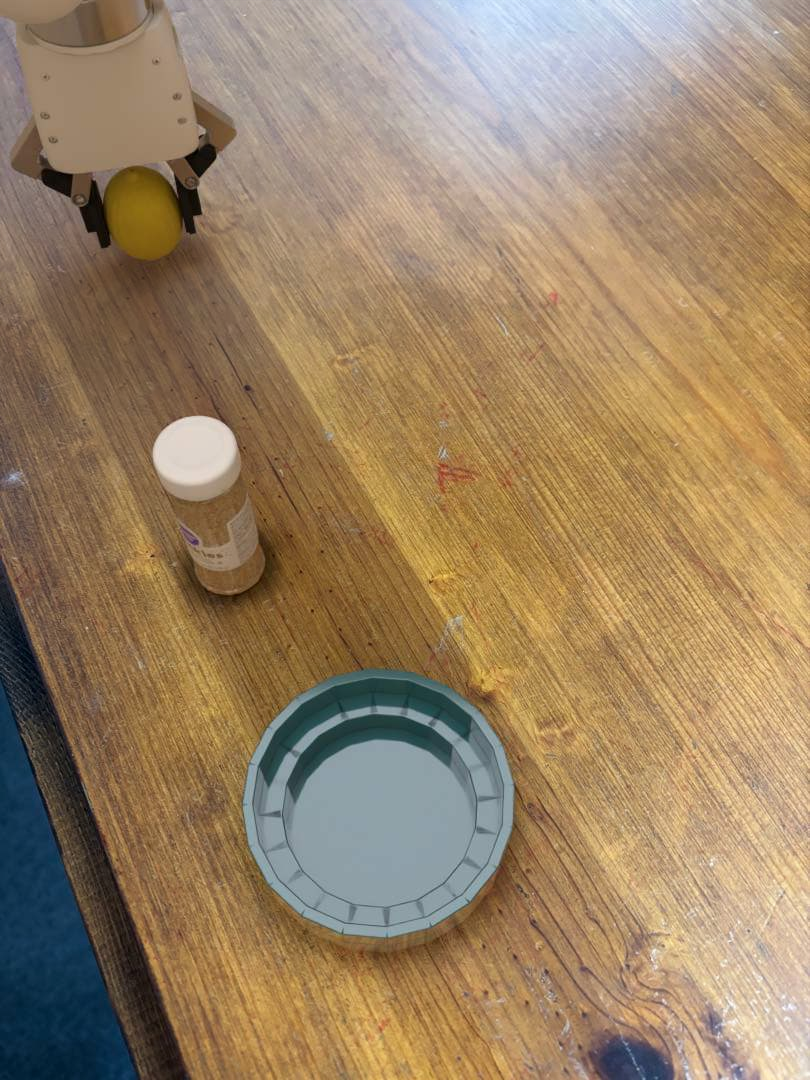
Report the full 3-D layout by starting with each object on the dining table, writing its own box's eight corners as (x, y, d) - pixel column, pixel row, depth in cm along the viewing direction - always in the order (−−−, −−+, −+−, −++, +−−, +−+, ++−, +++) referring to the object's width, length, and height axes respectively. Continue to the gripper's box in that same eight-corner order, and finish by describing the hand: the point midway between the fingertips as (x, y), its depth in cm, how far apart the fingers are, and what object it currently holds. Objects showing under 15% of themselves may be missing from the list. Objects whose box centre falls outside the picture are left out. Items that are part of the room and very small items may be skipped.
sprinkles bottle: (182, 580, 68) (133, 462, 56) (220, 525, 70) (180, 400, 58) (243, 609, 67) (207, 495, 55) (280, 552, 69) (252, 431, 57)
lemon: (159, 293, 79) (136, 208, 72) (102, 263, 80) (74, 178, 73) (206, 248, 81) (188, 162, 74) (150, 220, 82) (127, 133, 76)
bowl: (278, 982, 56) (267, 968, 52) (237, 730, 63) (224, 699, 58) (537, 917, 57) (547, 899, 53) (470, 678, 64) (474, 644, 60)
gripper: (219, -60, 65) (254, 176, 81) (-66, -24, 63) (26, 211, 79) (238, 12, 62) (271, 245, 77) (-65, 53, 60) (31, 284, 75)
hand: (146, 226), depth 78 cm, fingers closed on lemon, 5 cm apart
